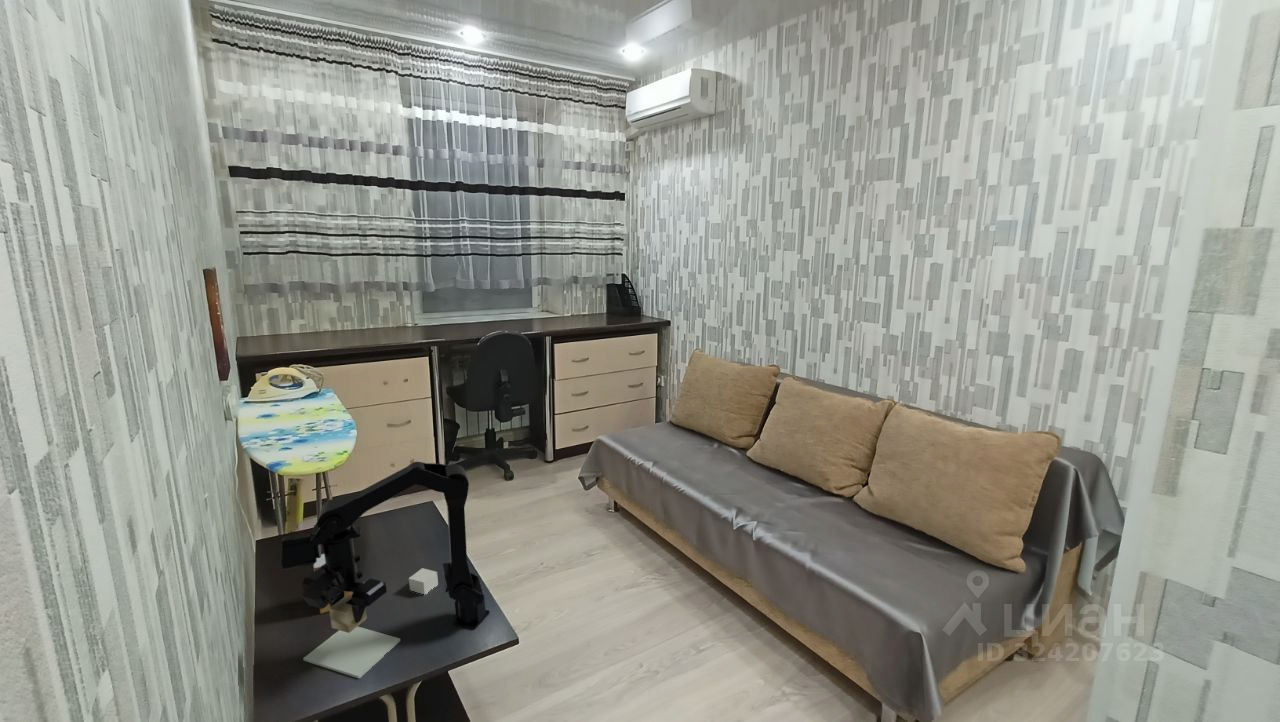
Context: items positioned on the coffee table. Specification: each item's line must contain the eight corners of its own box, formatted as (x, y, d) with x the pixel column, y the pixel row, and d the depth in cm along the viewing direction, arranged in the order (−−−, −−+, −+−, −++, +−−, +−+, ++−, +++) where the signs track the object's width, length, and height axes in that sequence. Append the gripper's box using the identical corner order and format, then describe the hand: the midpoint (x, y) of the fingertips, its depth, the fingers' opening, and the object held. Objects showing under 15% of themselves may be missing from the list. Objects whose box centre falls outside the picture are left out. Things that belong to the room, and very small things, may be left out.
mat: (400, 640, 129) (400, 638, 129) (359, 678, 118) (358, 676, 118) (347, 625, 135) (347, 623, 134) (303, 660, 123) (303, 658, 123)
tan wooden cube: (367, 618, 126) (364, 599, 125) (349, 632, 122) (346, 613, 121) (350, 613, 128) (347, 594, 127) (331, 628, 123) (328, 608, 122)
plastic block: (438, 585, 150) (436, 571, 149) (424, 596, 146) (423, 582, 145) (423, 581, 152) (422, 568, 151) (410, 591, 148) (408, 578, 147)
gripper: (274, 569, 117) (285, 633, 120) (342, 586, 111) (352, 653, 114) (320, 542, 127) (329, 602, 131) (384, 556, 121) (392, 619, 124)
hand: (349, 619), depth 125 cm, fingers closed on tan wooden cube, 5 cm apart
